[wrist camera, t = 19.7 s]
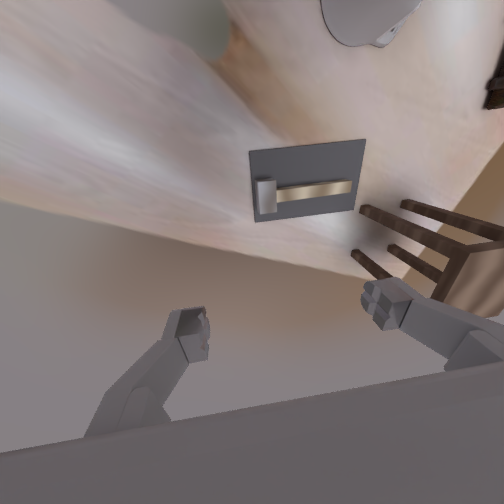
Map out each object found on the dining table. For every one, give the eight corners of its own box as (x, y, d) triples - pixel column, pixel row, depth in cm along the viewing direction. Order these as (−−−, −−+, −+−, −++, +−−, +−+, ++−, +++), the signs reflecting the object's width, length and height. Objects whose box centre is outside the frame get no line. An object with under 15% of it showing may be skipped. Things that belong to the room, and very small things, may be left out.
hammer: (348, 201, 46) (340, 198, 49) (353, 170, 43) (344, 168, 46) (260, 214, 43) (256, 210, 46) (257, 182, 40) (254, 179, 43)
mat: (255, 221, 49) (255, 222, 48) (249, 151, 41) (249, 151, 40) (352, 209, 50) (353, 210, 50) (364, 139, 42) (366, 139, 42)
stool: (350, 256, 58) (429, 327, 35) (360, 204, 50) (470, 253, 27) (393, 250, 59) (497, 315, 36) (410, 198, 51) (557, 240, 28)
